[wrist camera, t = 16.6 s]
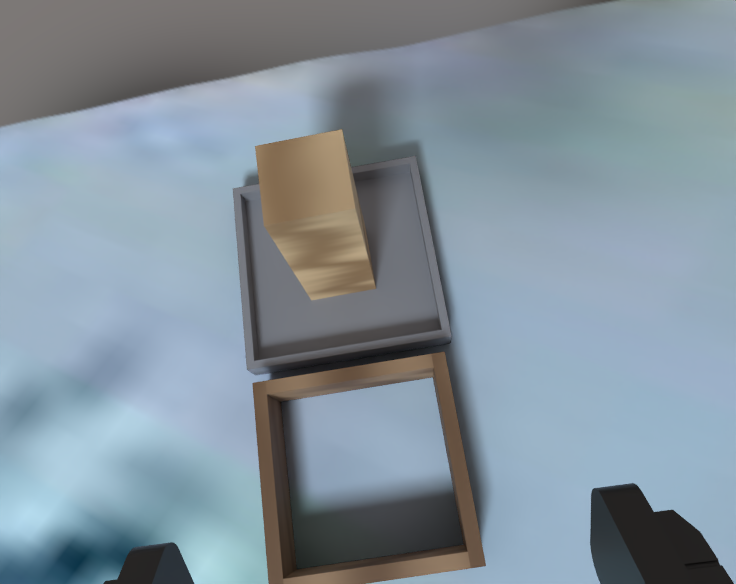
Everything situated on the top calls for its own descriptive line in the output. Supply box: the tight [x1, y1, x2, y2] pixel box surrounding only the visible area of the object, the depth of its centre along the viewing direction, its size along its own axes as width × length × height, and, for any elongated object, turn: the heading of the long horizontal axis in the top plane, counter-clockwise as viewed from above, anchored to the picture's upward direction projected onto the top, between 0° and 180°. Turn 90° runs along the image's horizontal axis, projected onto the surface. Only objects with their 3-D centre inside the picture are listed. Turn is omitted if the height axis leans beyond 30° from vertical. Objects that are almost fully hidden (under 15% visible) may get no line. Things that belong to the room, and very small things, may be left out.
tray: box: [233, 156, 451, 375], centre depth 39 cm, size 13×13×2 cm
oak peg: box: [255, 129, 376, 300], centre depth 33 cm, size 4×4×12 cm
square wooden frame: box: [253, 352, 486, 584], centre depth 34 cm, size 12×12×4 cm
